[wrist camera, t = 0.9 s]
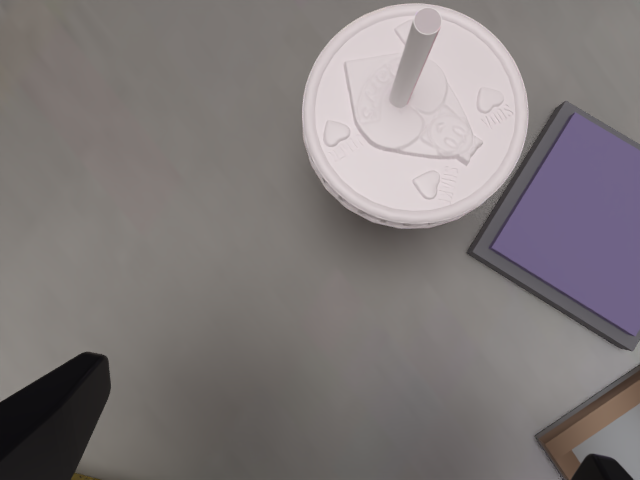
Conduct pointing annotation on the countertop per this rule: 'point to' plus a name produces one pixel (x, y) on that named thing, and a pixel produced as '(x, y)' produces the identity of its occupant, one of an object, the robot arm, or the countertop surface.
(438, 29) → the smoothie
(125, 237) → the countertop surface
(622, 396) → the marked square
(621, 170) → the ink pad
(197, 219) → the countertop surface
